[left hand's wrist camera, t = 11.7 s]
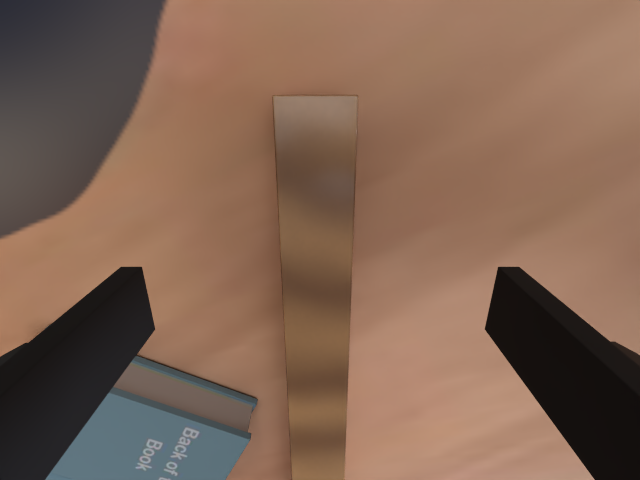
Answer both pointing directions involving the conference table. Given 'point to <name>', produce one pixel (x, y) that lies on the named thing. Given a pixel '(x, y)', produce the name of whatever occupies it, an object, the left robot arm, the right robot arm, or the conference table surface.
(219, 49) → the conference table surface
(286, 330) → the bar
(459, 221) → the conference table surface
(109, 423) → the book
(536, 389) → the left robot arm
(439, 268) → the conference table surface
